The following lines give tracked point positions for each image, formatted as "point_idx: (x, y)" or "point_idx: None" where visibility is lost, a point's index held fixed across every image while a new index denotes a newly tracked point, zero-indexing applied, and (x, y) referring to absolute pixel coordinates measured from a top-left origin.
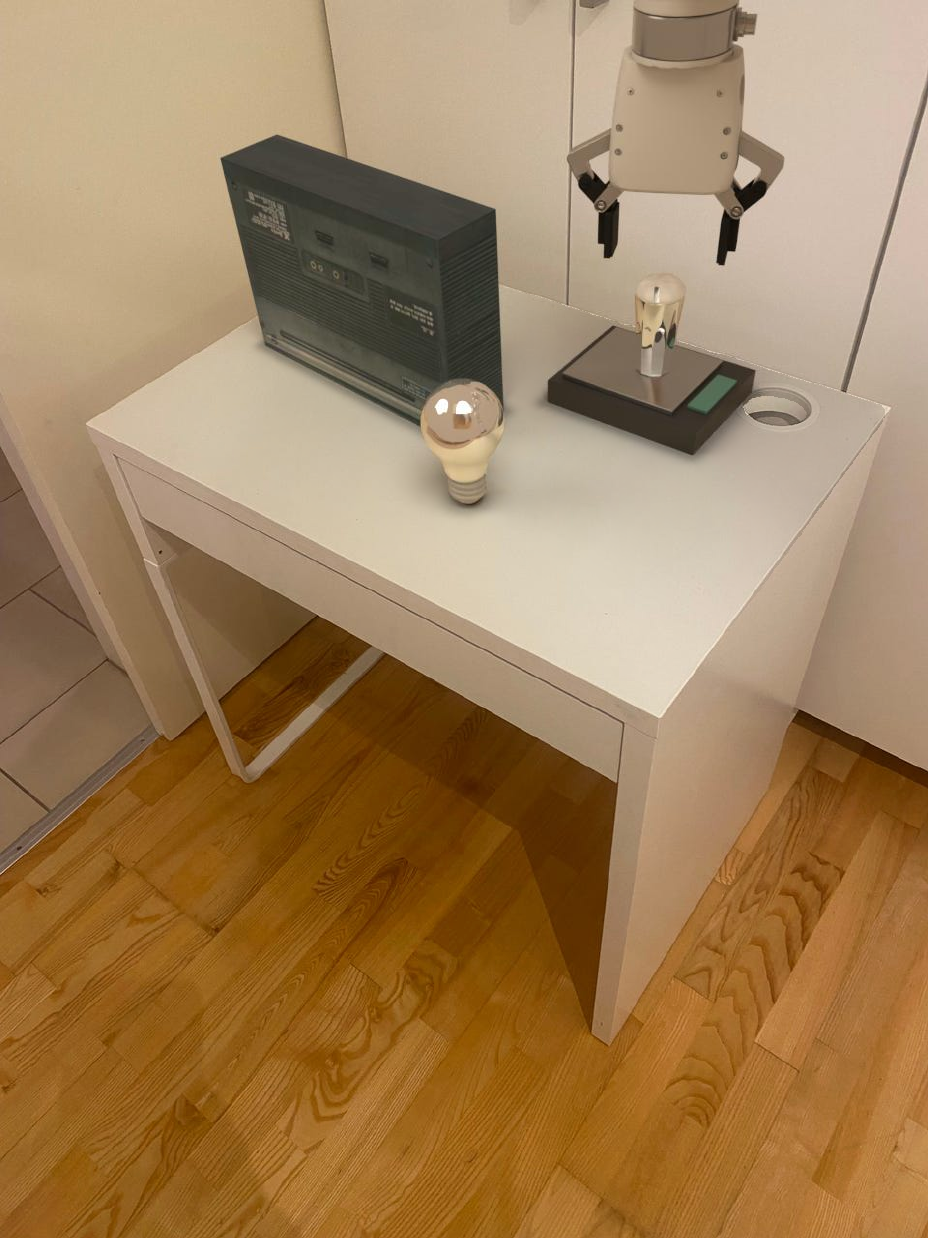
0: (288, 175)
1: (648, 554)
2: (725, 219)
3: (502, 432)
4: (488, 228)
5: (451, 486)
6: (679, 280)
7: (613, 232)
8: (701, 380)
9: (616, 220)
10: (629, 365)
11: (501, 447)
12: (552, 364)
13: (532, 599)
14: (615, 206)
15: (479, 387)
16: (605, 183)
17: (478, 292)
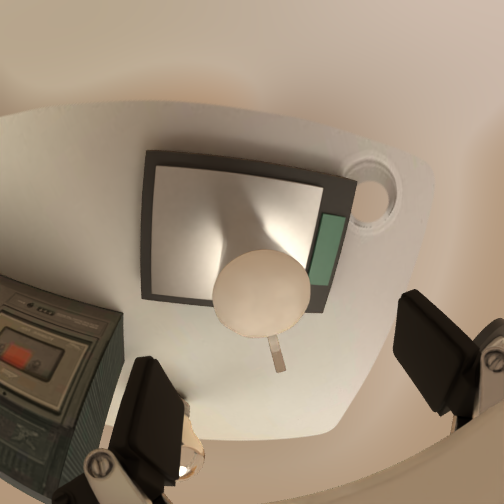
0: None
1: (308, 388)
2: (443, 412)
3: (202, 447)
4: None
5: None
6: (298, 286)
7: (177, 441)
8: (311, 241)
9: (160, 434)
10: (215, 246)
11: (156, 352)
12: (112, 219)
13: (258, 427)
14: (149, 462)
15: (183, 475)
16: (90, 484)
17: (84, 440)
